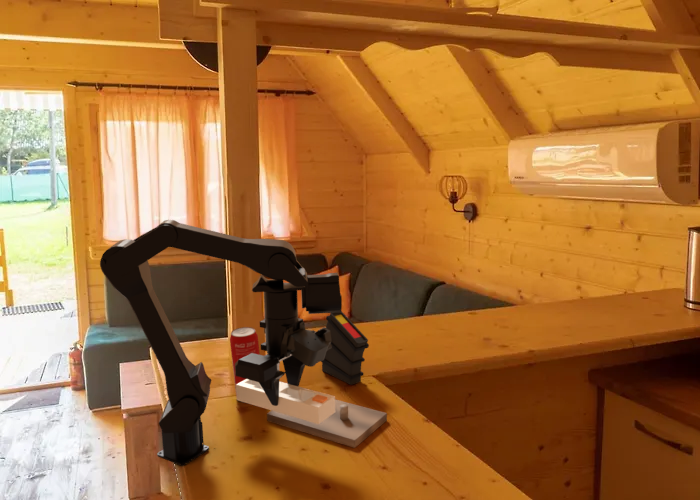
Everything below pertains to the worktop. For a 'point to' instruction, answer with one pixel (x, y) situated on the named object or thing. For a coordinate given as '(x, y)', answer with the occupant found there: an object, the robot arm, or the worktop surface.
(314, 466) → the worktop surface
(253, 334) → the beverage can
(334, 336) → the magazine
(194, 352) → the worktop surface
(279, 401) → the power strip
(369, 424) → the peg board
